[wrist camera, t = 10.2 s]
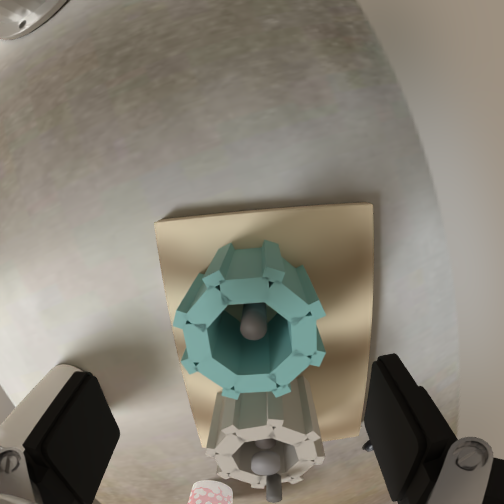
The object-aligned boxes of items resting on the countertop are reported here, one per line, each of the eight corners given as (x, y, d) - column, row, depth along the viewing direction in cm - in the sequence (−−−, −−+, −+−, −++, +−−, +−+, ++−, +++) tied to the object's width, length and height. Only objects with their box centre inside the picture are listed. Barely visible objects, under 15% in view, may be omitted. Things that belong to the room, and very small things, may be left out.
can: (92, 362, 24) (22, 451, 13) (116, 416, 26) (68, 507, 14) (42, 360, 25) (-28, 432, 13) (67, 411, 26) (14, 487, 15)
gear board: (160, 219, 21) (126, 235, 16) (365, 202, 21) (401, 212, 15) (204, 436, 26) (194, 484, 20) (355, 425, 25) (370, 471, 19)
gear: (205, 375, 22) (184, 452, 15) (302, 354, 22) (319, 433, 14) (233, 439, 24) (226, 512, 16) (318, 423, 23) (333, 497, 16)
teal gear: (190, 246, 20) (162, 274, 14) (306, 236, 20) (325, 261, 14) (205, 347, 22) (189, 400, 16) (310, 340, 22) (325, 392, 16)
